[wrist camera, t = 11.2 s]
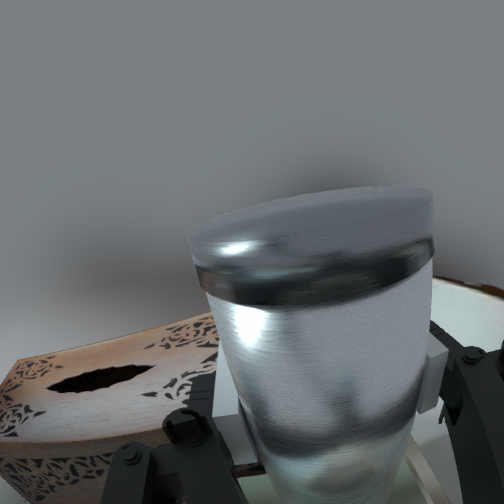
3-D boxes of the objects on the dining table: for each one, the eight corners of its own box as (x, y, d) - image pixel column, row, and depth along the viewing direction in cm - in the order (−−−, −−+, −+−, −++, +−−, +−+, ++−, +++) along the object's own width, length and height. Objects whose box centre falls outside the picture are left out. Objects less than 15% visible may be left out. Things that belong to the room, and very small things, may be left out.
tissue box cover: (36, 508, 12) (-32, 440, 9) (57, 423, 25) (17, 359, 23) (295, 471, 18) (277, 392, 16) (245, 381, 32) (224, 307, 29)
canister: (253, 488, 12) (155, 233, 8) (334, 429, 15) (306, 191, 11) (332, 555, 6) (315, 253, 3) (416, 471, 10) (459, 183, 6)
